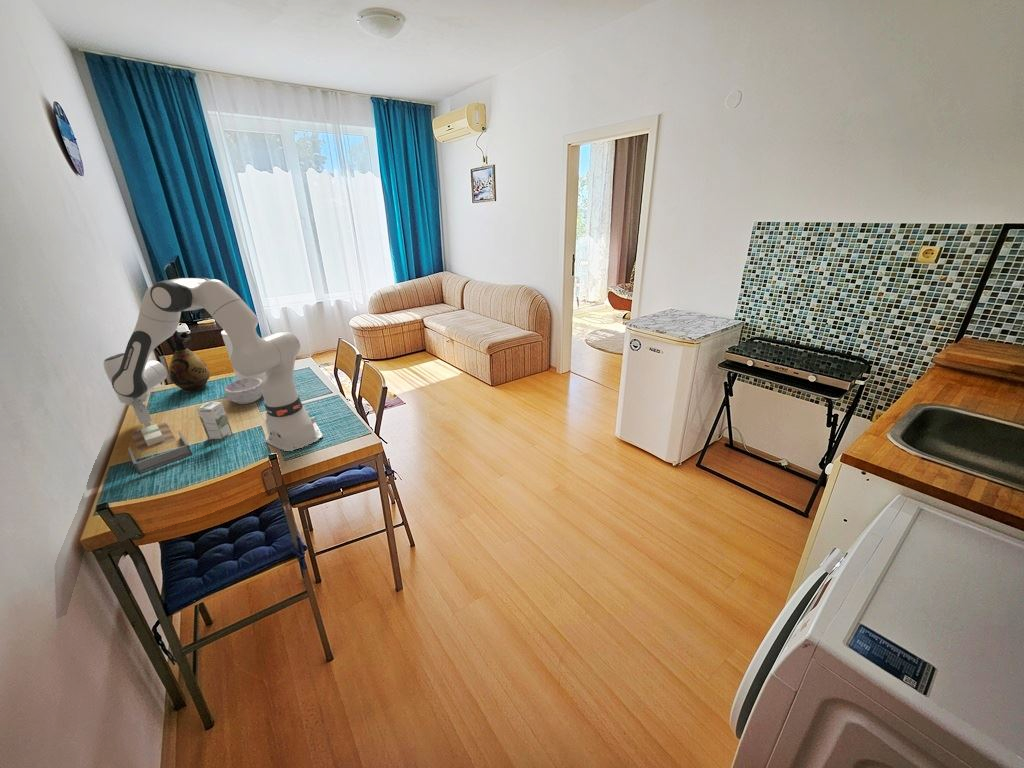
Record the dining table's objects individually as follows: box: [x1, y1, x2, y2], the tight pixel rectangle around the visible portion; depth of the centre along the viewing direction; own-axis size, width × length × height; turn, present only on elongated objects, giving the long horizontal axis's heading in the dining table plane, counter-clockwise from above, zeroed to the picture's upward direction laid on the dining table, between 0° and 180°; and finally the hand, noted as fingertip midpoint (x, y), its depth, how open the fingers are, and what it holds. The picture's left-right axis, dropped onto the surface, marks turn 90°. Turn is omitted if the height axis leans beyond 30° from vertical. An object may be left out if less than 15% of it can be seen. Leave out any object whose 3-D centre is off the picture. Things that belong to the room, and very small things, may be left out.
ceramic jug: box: [165, 329, 211, 393], centre depth 194 cm, size 17×15×30 cm
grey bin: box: [127, 430, 194, 476], centre depth 146 cm, size 15×15×4 cm
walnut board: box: [130, 422, 177, 453], centre depth 157 cm, size 20×11×2 cm, turn 47°
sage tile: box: [140, 423, 160, 436], centre depth 158 cm, size 5×5×2 cm
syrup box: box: [196, 401, 233, 440], centre depth 154 cm, size 6×6×14 cm
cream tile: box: [144, 431, 165, 446], centre depth 153 cm, size 5×5×2 cm
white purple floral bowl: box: [224, 378, 263, 405], centre depth 186 cm, size 15×15×8 cm
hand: (147, 424), depth 163 cm, fingers closed
